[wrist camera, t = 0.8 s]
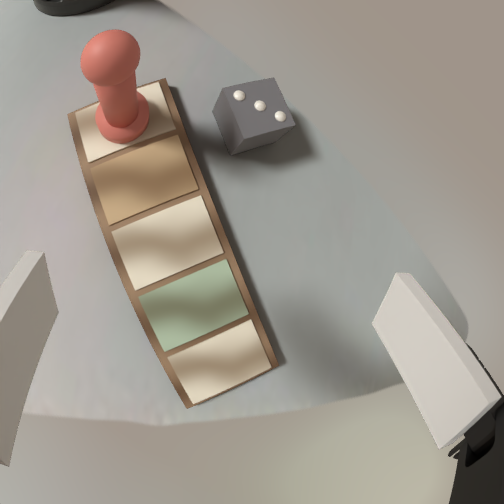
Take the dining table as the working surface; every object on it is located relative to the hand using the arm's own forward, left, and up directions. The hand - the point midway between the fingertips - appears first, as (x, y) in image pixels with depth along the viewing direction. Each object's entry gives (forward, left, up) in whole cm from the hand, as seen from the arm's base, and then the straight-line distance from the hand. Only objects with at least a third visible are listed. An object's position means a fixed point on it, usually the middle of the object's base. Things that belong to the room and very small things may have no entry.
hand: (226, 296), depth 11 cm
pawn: (-15, -1, -16) cm, 22 cm away
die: (-11, +10, -18) cm, 23 cm away
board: (-3, -1, -18) cm, 18 cm away
